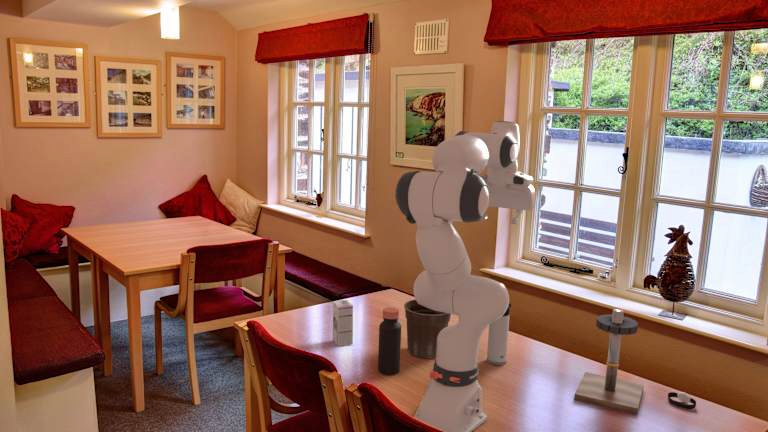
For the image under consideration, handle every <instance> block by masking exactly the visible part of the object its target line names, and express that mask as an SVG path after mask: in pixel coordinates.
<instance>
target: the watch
mask: <svg viewBox="0 0 768 432" xmlns="http://www.w3.org/2000/svg"><path fill="white" fill-rule="evenodd" d="M672 398H677V399H678V400H679V401H680V402H679V401H676V400H674V399H672ZM667 400H668V402H669V403H670V404H672V405H673V406H675V407H678V408H681V409H684V408H685V409H684V410H694V409H696V406H697V400H696V399H694V398H692V397H691V396H690V395H689V394H688V393H686V392H685V391H683V392H682V391H681V392H679V393H678V392H672V391H671V392H668V393H667ZM688 403H691V404H688Z"/></svg>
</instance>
